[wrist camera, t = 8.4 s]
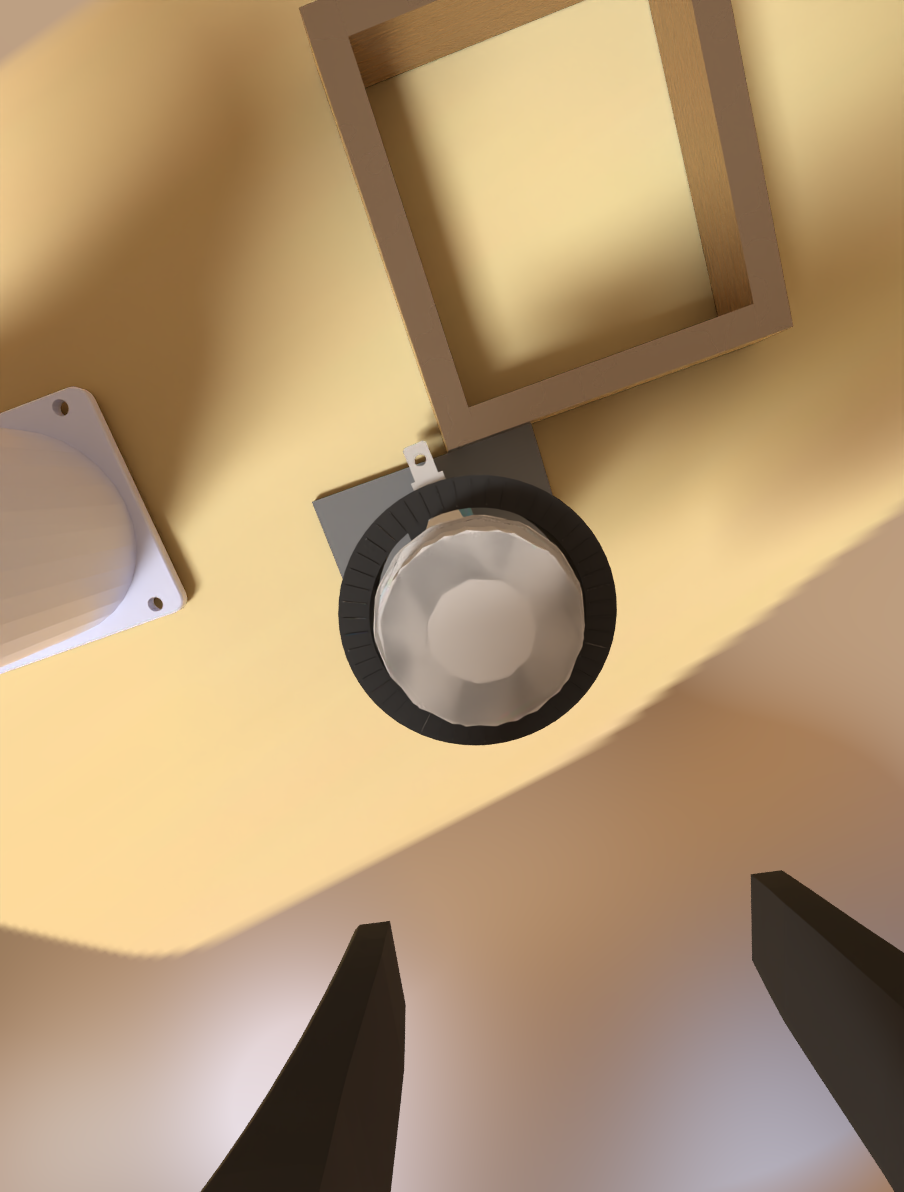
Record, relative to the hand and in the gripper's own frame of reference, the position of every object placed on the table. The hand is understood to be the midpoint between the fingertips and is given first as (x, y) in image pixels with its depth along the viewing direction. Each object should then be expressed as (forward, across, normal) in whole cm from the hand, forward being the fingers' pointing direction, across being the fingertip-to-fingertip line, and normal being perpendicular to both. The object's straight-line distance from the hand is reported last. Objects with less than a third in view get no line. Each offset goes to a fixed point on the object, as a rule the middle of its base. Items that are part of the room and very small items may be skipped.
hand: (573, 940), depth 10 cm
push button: (+10, +1, -7) cm, 13 cm away
